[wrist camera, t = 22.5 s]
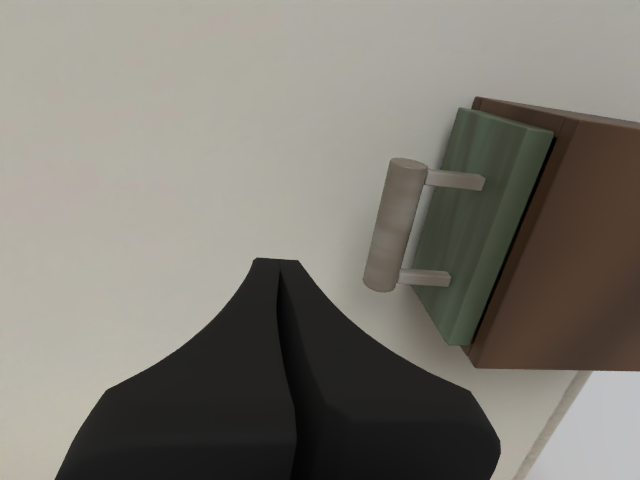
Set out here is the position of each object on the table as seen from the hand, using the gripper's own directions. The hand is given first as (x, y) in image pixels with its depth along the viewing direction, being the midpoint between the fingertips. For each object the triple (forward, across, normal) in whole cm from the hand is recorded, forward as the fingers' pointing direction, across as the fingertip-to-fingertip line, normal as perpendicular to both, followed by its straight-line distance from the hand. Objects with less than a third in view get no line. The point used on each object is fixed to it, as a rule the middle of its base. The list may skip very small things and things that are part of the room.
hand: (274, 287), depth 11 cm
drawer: (+9, -13, 0) cm, 16 cm away
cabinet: (+10, -17, 0) cm, 20 cm away
